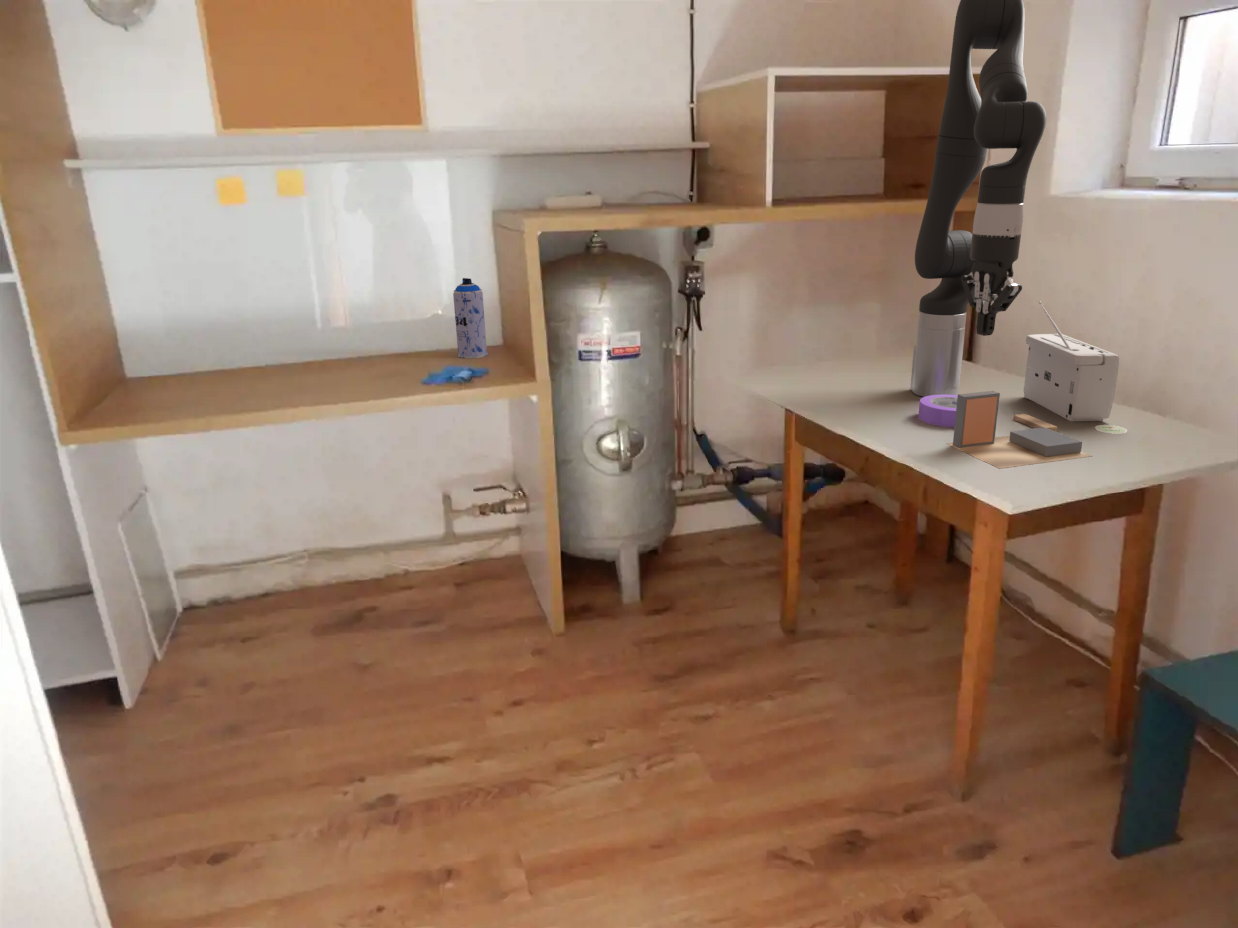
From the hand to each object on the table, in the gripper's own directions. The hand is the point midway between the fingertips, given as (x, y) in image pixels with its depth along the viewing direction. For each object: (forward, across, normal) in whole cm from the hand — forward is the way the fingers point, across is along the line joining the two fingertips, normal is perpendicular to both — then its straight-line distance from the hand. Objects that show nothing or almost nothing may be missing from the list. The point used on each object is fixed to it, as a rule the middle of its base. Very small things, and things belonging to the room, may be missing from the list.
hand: (984, 334), depth 157 cm
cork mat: (+18, +10, +2) cm, 21 cm away
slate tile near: (+18, +4, -3) cm, 19 cm away
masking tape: (+19, -10, +3) cm, 22 cm away
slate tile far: (+17, +6, +7) cm, 19 cm away
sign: (+19, +10, +22) cm, 30 cm away
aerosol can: (+20, -107, -72) cm, 131 cm away
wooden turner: (+19, +2, +14) cm, 23 cm away
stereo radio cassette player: (+19, -8, +27) cm, 34 cm away
